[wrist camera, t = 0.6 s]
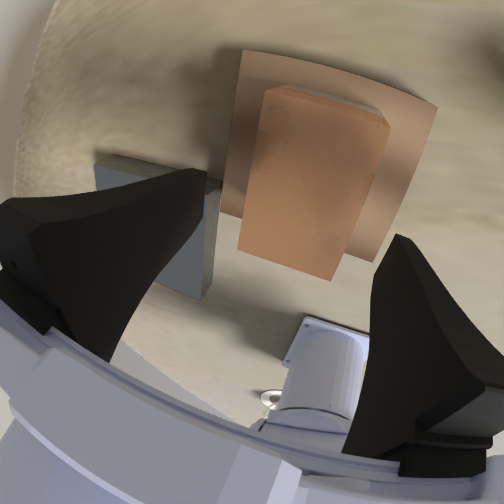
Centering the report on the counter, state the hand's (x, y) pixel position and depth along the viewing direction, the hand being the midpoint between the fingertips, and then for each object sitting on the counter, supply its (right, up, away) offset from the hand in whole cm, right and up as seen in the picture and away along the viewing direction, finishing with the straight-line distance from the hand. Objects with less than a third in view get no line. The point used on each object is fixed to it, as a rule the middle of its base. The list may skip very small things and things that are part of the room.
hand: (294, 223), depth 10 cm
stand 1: (-10, +2, +16) cm, 18 cm away
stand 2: (+3, +6, +7) cm, 10 cm away
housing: (+2, +4, +6) cm, 7 cm away
